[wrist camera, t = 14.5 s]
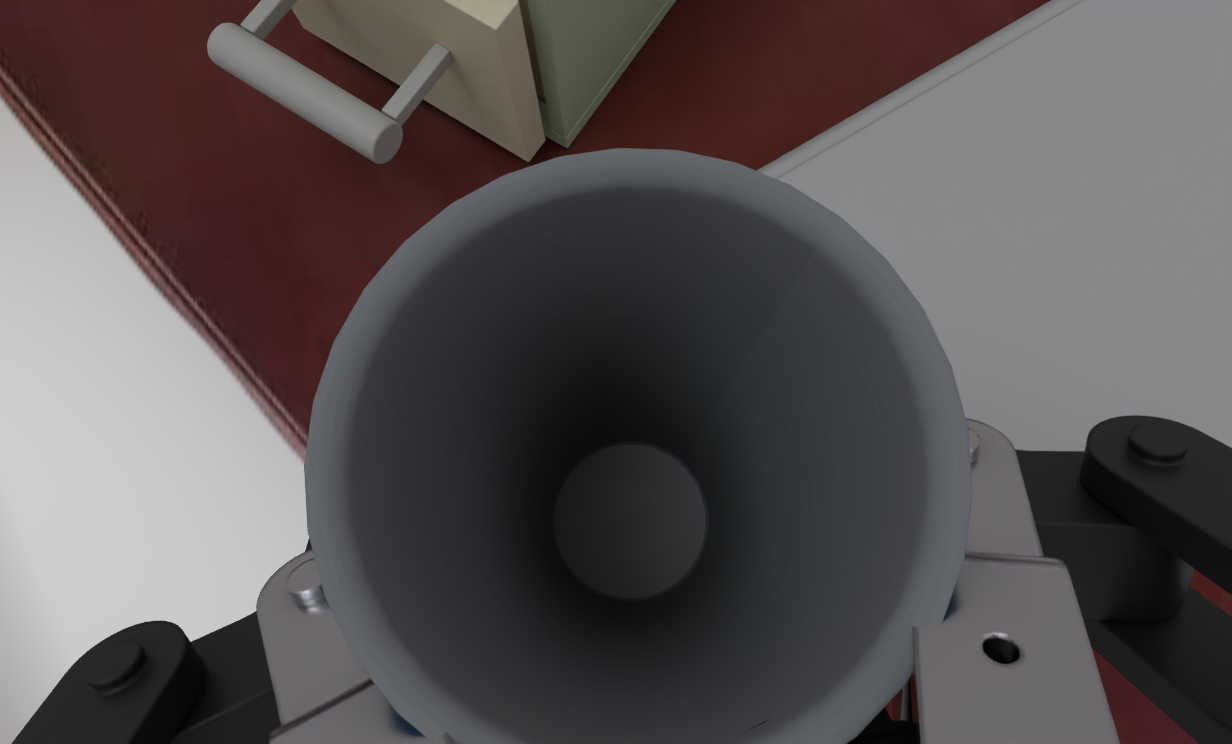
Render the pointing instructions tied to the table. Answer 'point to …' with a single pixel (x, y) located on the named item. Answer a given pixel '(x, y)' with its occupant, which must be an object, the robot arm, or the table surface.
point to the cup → (637, 463)
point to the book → (1059, 214)
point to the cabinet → (586, 54)
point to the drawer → (400, 67)
